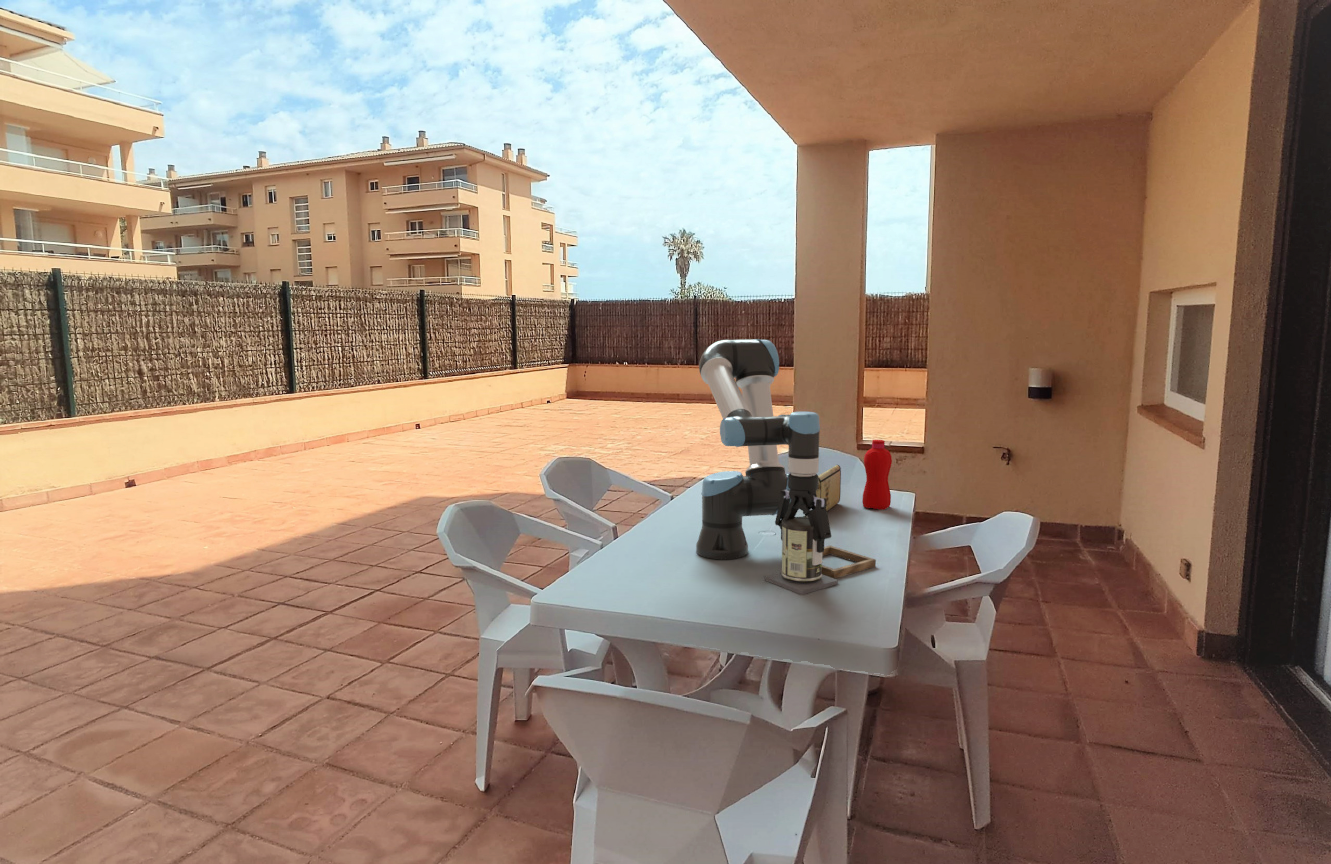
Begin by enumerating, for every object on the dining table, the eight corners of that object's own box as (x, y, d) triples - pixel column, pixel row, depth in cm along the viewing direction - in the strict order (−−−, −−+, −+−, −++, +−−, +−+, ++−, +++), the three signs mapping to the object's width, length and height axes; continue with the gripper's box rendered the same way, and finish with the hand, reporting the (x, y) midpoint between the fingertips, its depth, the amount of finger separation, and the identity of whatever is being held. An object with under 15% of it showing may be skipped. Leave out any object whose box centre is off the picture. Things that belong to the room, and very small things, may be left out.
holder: (834, 578, 187) (834, 571, 187) (789, 562, 201) (789, 555, 201) (875, 566, 197) (875, 559, 197) (829, 552, 210) (830, 545, 210)
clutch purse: (823, 501, 274) (824, 462, 272) (841, 503, 271) (842, 464, 269) (798, 519, 248) (799, 476, 246) (818, 521, 245) (819, 478, 243)
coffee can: (817, 568, 190) (818, 516, 188) (825, 581, 180) (826, 526, 178) (778, 568, 190) (779, 516, 188) (784, 581, 180) (784, 526, 178)
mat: (801, 594, 176) (801, 590, 176) (765, 580, 187) (765, 576, 187) (838, 583, 183) (838, 580, 183) (801, 570, 194) (801, 567, 194)
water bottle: (893, 505, 267) (896, 438, 263) (885, 511, 257) (887, 442, 254) (868, 502, 271) (870, 436, 268) (860, 508, 262) (861, 440, 259)
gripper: (848, 478, 174) (845, 567, 177) (782, 465, 193) (781, 545, 196) (826, 482, 170) (824, 573, 173) (761, 468, 188) (760, 550, 191)
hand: (801, 558), depth 184 cm, fingers closed on coffee can, 10 cm apart
